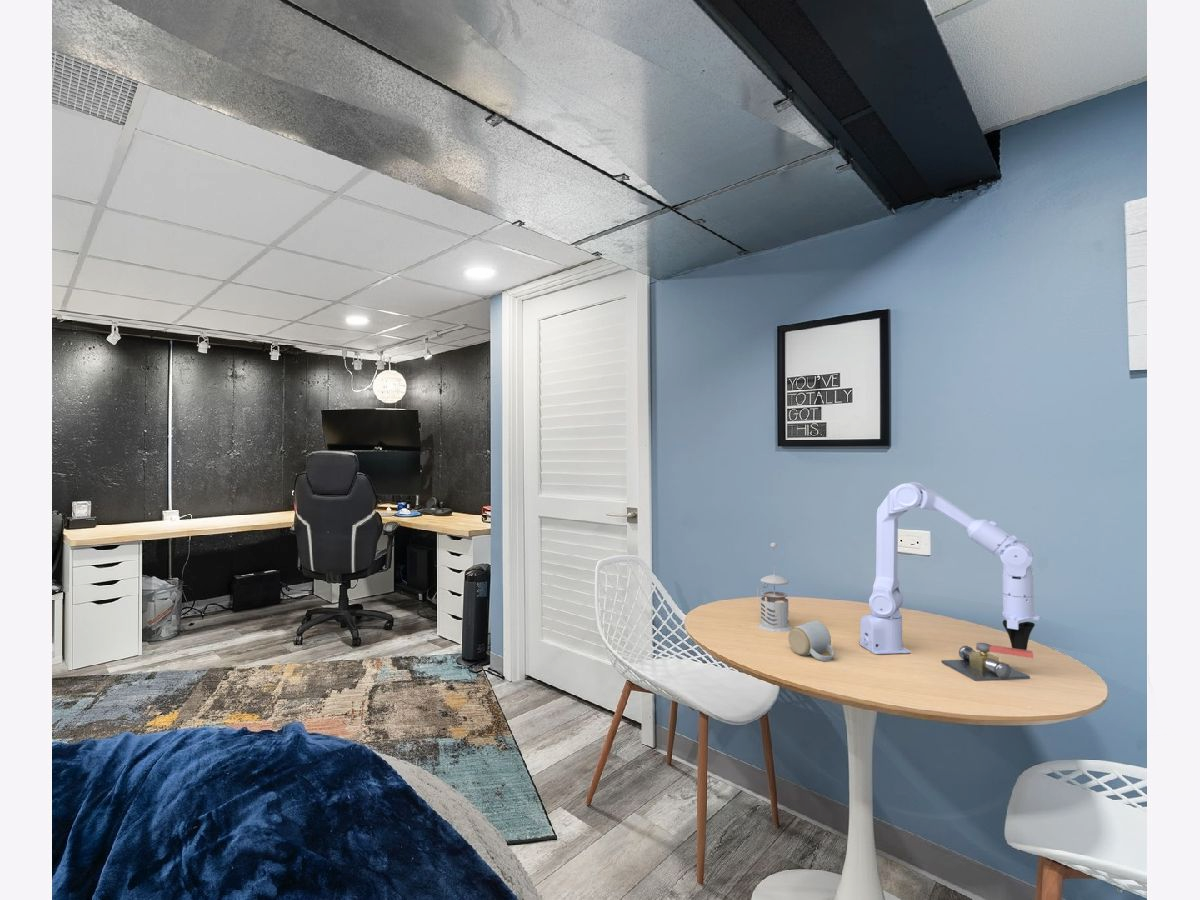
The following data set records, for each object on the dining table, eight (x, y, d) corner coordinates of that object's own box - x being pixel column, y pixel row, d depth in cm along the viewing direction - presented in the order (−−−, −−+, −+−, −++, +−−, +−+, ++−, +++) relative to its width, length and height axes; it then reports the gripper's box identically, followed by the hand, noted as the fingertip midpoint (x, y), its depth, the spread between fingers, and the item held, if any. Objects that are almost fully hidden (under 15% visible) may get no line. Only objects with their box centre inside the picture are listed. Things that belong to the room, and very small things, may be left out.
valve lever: (976, 650, 130) (976, 645, 130) (976, 647, 133) (976, 641, 133) (1033, 659, 125) (1033, 653, 125) (1032, 655, 127) (1032, 650, 127)
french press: (772, 633, 159) (771, 545, 159) (746, 622, 169) (745, 540, 170) (799, 629, 163) (798, 543, 163) (772, 618, 173) (771, 538, 174)
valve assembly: (1031, 679, 125) (1031, 659, 125) (976, 681, 124) (976, 661, 124) (990, 660, 137) (990, 641, 137) (940, 661, 136) (939, 643, 136)
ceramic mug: (785, 651, 145) (785, 621, 145) (808, 646, 149) (808, 617, 148) (819, 665, 135) (819, 633, 135) (842, 659, 139) (842, 628, 139)
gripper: (1034, 603, 120) (1036, 666, 120) (1044, 591, 131) (1046, 649, 130) (995, 598, 125) (996, 658, 125) (1007, 586, 136) (1009, 642, 135)
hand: (1019, 653), depth 128 cm, fingers closed, pressing on valve lever
